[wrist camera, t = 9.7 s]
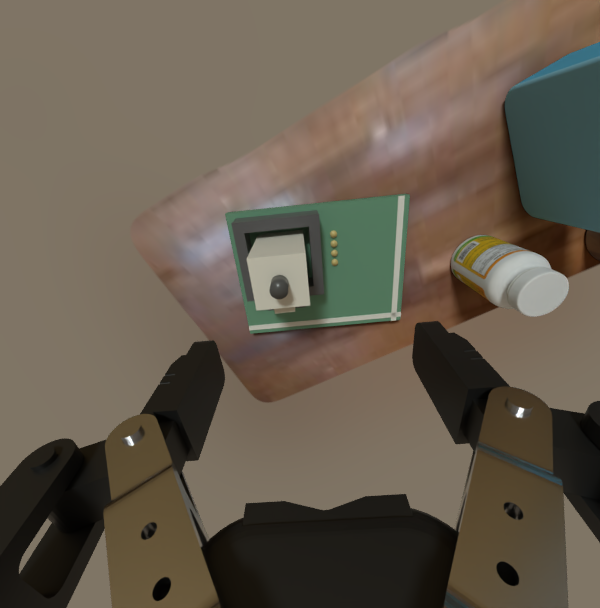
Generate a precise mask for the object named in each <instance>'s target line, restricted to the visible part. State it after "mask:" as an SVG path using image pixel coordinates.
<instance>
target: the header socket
mask: <svg viewBox="0 0 600 608" xmlns="http://www.w3.org/2000/svg"><path fill="white" fill-rule="evenodd" d="M231 225H232V229H233V234H234V239H235V244H236V249H237V254H238V259H239V263H240V268H241V273H242V278H243V283H244V288H245V293H246V298H247V302H249V301H255V300H254V295H253V290H252V285H251V279H250V274H249V269H248V264H247V257H248V255H249V253H250V251H251V249H252V246H251V240H250V235H249V233H251V232H261V231H271V230H281V229H290V228H300V227H308V231H309V243H310V255H311V267H312V277H310V278H308V286H309V296H312V295H322V294H324V284H323V268H322V252H321V237H320V221H319V213H318V211H317V210H312V211H302V212H292V213H283V214H273V215H264V216H254V217H244V218H236V219H235V220H234V221H233V222H232V223H231ZM330 236H331V237H332V238H335V237H336V236H337V232H336V231H334V230H333V231H331V232H330ZM330 244H331V246H332V247H336V246H337V241H335V240H333V241H331V243H330ZM331 255H332V256H333V257H335V256H337V255H338V252H337V250H332V251H331ZM331 263H332V265H333V266H336V265H337V264H338V260H337V259H333V260H332V261H331ZM303 307H306V306H299V307H295V308H303ZM271 310H274V309H268V311H271Z"/></svg>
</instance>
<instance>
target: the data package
mask: <svg viewBox="0 0 600 608" xmlns="http://www.w3.org/2000/svg"><path fill="white" fill-rule="evenodd" d="M505 113H506V119H507V124H508V130H509V136H510V141H511V147H512V152H513V158H514V163H515V169H516V175H517V180H518V186H519V191H520V197H521V202H522V205H523V207H524V209H525V210H526V212H527V213H528V214H529V215H531V216H532V217H535V218H539V219H543V220H547V221H552V222H556V223H560V224H565V225H569V226H573V227H578V228H582V229H586V230H590V231H595V232H599V233H600V42H598V43H596V44H593V45H591V46H588V47H585V48H583V49H580V50H578V51H575V52H573V53H570V54H568V55H566V56H564V57H563V58H561V59H559V60H558V61H556V62H554V63H552V64H551V65H549V66H547V67H546V68H544V69H542V70H541V71H539V72H537V73H535V74H534V75H532V76H530V77H529V78H527V79H525V80H523V81H522V82H520V83H518V84H517V85H515V86H514V87H512V88H511V89H510V91H509V92H508V94H507V96H506V99H505Z"/></svg>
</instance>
